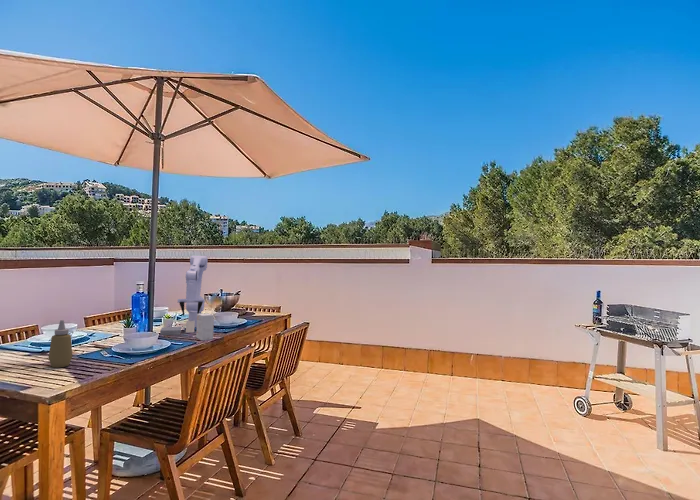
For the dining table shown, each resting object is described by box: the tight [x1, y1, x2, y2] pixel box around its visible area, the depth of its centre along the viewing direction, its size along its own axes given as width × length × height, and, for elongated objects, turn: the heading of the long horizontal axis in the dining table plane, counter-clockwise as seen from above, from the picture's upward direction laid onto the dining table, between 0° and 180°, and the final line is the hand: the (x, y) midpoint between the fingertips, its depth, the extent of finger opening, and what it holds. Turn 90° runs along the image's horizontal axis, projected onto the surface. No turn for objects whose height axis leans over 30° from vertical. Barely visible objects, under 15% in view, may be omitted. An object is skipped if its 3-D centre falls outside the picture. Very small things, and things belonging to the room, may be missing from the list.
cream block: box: [185, 320, 195, 333], centre depth 258 cm, size 4×4×6 cm
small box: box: [195, 312, 215, 341], centre depth 240 cm, size 8×6×13 cm
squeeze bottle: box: [48, 319, 73, 369], centre depth 178 cm, size 8×8×18 cm
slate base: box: [159, 326, 182, 336], centre depth 251 cm, size 10×10×2 cm
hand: (190, 315), depth 258 cm, fingers open, 7 cm apart
